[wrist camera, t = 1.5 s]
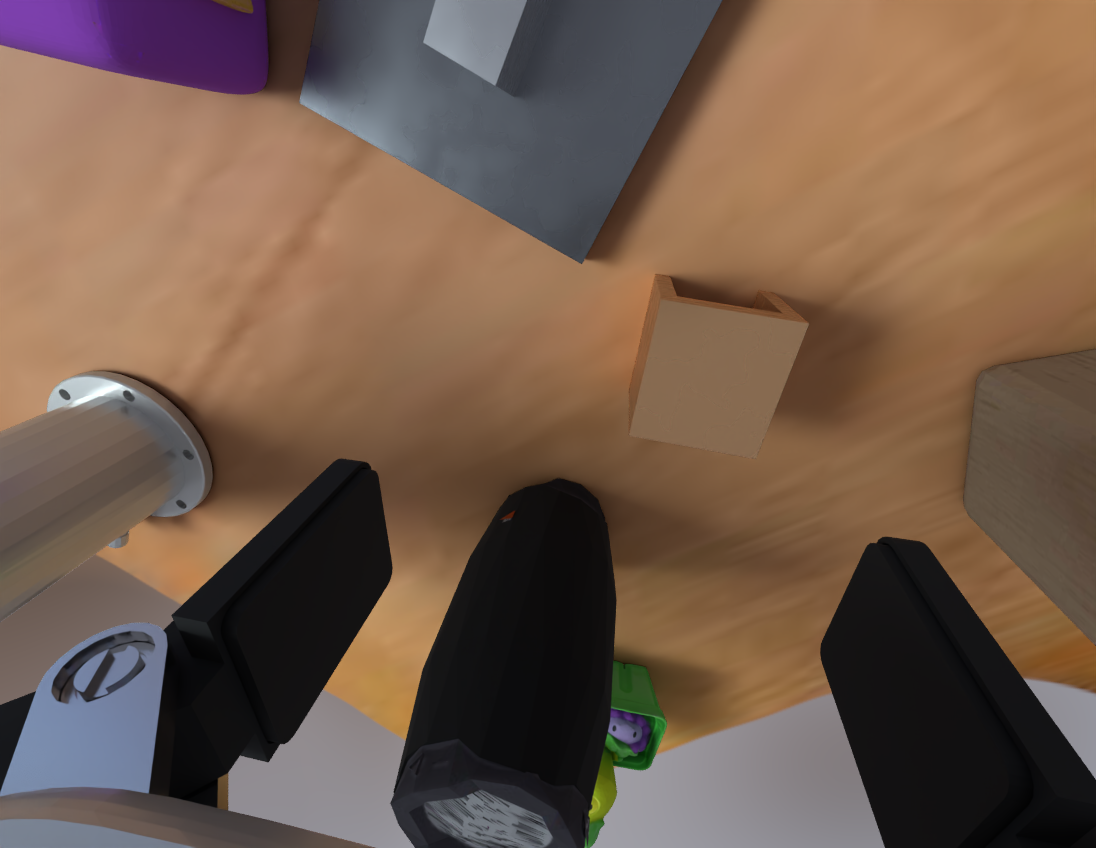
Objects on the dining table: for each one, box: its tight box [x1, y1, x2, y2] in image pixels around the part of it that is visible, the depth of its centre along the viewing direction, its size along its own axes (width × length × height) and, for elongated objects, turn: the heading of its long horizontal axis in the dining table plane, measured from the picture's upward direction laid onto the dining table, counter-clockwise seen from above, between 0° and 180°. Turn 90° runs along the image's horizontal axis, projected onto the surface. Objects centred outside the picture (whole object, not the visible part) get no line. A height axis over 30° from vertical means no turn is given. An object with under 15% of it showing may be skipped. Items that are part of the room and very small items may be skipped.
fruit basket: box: [585, 661, 667, 848], centre depth 38 cm, size 11×9×11 cm
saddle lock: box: [629, 274, 809, 459], centre depth 25 cm, size 7×6×6 cm
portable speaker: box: [391, 478, 616, 848], centre depth 27 cm, size 9×9×20 cm
